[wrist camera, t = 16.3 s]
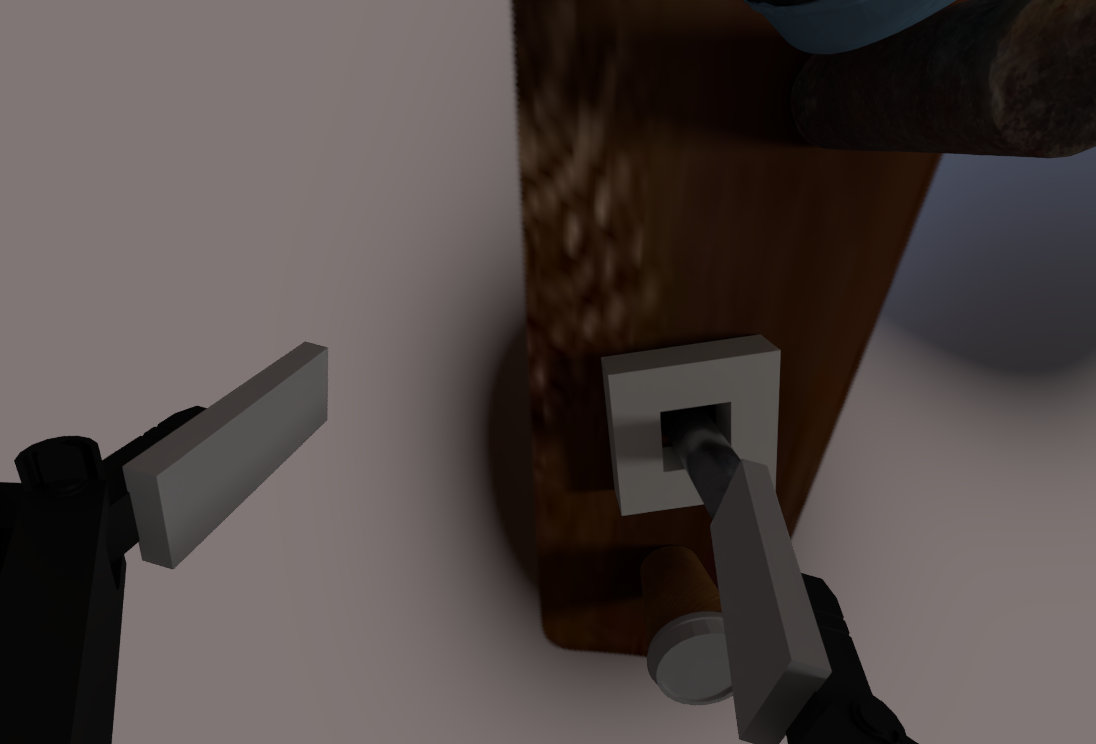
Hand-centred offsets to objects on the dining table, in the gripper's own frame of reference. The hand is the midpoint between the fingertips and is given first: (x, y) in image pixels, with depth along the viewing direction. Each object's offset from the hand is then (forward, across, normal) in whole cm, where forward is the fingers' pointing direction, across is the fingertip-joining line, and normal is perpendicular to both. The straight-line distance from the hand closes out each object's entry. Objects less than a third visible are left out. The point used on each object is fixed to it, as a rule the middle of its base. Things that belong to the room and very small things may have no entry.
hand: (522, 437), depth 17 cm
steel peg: (+30, +11, -15) cm, 36 cm away
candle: (+34, +14, +13) cm, 39 cm away
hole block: (+31, +11, -15) cm, 36 cm away
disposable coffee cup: (+30, +15, -32) cm, 46 cm away
